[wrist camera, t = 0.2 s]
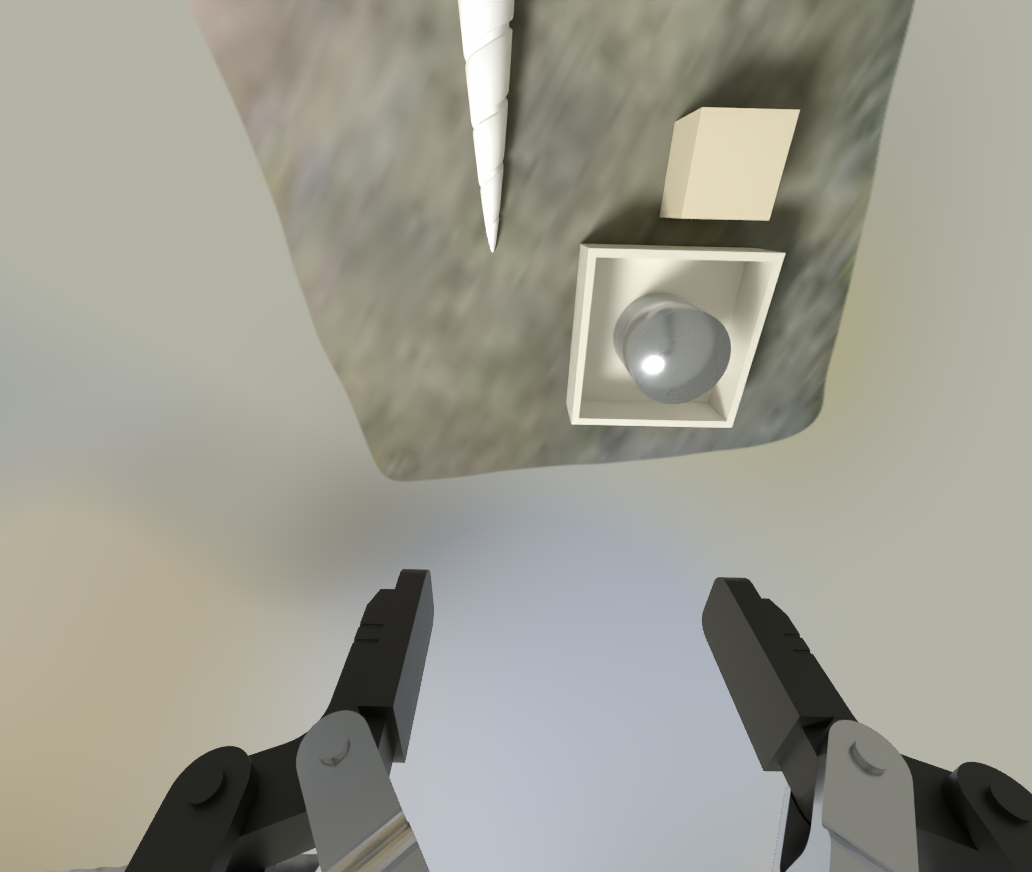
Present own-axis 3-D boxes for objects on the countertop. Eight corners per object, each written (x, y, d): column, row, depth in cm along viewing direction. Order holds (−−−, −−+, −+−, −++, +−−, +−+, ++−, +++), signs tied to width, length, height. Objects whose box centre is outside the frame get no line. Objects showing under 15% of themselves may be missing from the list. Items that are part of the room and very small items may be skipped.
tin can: (619, 291, 34) (641, 309, 28) (703, 293, 34) (743, 311, 28) (608, 371, 38) (625, 403, 32) (684, 373, 38) (717, 405, 32)
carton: (674, 122, 30) (702, 107, 25) (758, 124, 30) (800, 109, 25) (659, 217, 32) (681, 218, 28) (735, 218, 33) (768, 220, 28)
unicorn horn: (446, 248, 34) (436, 254, 30) (441, -230, 22) (424, -332, 18) (504, 253, 34) (503, 259, 30) (528, -220, 23) (531, -319, 18)
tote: (580, 243, 33) (588, 248, 29) (754, 247, 33) (785, 253, 29) (566, 402, 40) (571, 424, 36) (710, 406, 40) (731, 427, 36)
